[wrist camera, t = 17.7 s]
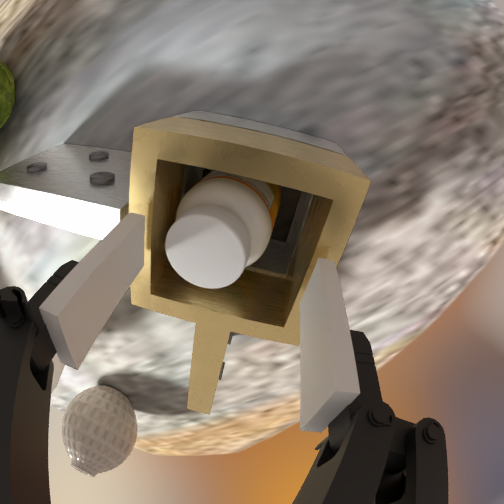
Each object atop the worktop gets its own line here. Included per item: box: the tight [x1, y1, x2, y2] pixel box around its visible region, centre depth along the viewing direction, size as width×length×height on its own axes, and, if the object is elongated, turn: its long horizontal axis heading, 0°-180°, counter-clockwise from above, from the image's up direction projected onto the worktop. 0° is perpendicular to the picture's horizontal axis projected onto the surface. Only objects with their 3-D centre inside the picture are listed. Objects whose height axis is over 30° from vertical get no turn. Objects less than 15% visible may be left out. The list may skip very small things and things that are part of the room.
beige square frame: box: [129, 116, 371, 415], centre depth 20 cm, size 10×22×10 cm, turn 168°
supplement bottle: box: [165, 170, 282, 289], centre depth 17 cm, size 5×5×10 cm
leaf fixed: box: [0, 110, 347, 279], centre depth 17 cm, size 22×10×10 cm, turn 78°
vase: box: [62, 385, 137, 477], centre depth 35 cm, size 13×13×17 cm
